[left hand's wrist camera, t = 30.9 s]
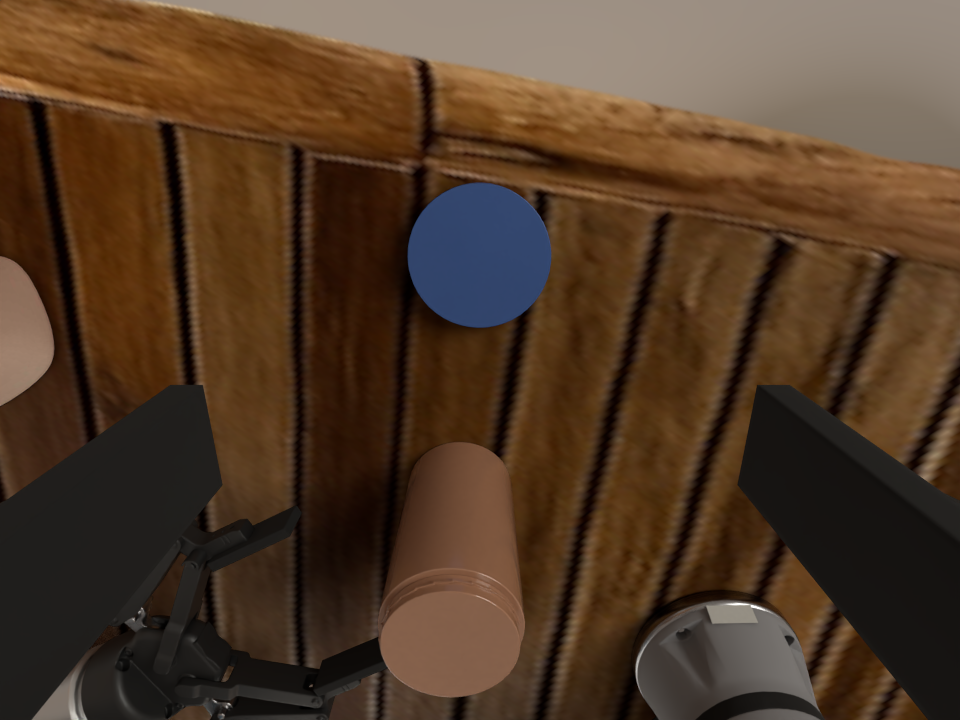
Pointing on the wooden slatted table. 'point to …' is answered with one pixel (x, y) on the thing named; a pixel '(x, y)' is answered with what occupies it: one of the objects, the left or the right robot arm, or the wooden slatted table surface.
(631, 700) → the wooden slatted table surface
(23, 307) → the anatomical model
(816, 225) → the wooden slatted table surface
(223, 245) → the wooden slatted table surface
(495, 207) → the lid
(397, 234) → the wooden slatted table surface
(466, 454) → the jar
